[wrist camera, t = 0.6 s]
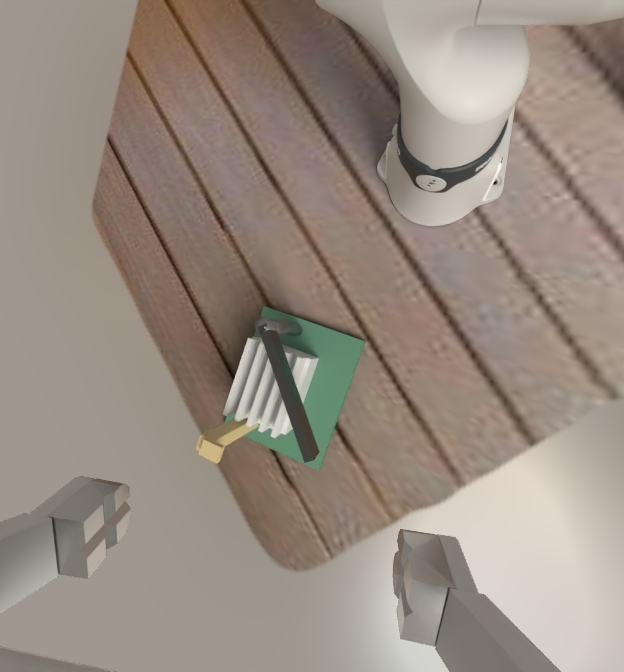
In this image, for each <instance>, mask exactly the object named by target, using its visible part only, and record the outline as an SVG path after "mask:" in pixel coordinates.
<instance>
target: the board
mask: <svg viewBox="0 0 624 672" xmlns="http://www.w3.org/2000/svg"><path fill="white" fill-rule="evenodd" d="M260 317H266V318H270V319H275V320H280V321H284V322H289V323H294V324H298V325H300V326H301V327H302V334H301V335H300V336H286V335H279V337H280V340H281V343H282V346H283V349H284V352H285V354H286V357H287V360H288V363H289V366H290V369H291V372H292V374H293V377H294V380H295V383H296V386H297V389H298V392H299V395H300V397H301V400H302V403H303V406H304V409H305V412H306V415H307V417H308V420H309V423H310V426H311V429H312V432H313V435H314V437H315V440H316V443H317V446H318V449H319V454H318V455H317V457H316V458H315V459H314V460H313V461H310V462H307V463H304V460H303V457H302V454H301V451H300V449H299V446H298V443H297V440H296V437H295V434H294V431H293V428H292V425H291V422H290V419H289V416H288V414H287V411H286V408H285V405H284V402H283V399H282V396H281V393H280V390H279V387H278V384H277V381H276V379H275V376H274V373H273V370H272V367H271V364H270V361H269V358H268V355H267V352H266V349H265V346H264V344H263V341H262V338H261V335H260V333H259V332H257V331H256V330H255V333H254V336H253V337H252V338H248V340H247V343H246V346H245V349H244V352H243V355H242V358H241V361H240V364H239V367H238V370H237V373H236V376H235V379H234V382H233V384H232V387H231V390H230V393H229V396H228V399H227V402H226V405H225V408H224V411H223V414H222V415H225V416H227V417H226V420H225V423H224V424H222V425H220V426H218V427H215V428H213V429H211V430H209V431H207V432H205V433H202V434H200V438H199V440H198V443H197V447H196V450H199V451H200V452H199V455H201V456H203V457H205V458H207V459H209V460H211V461H213V462H215V463H218V462H219V461H220V459H221V456H222V453H223V450H224V447H225V446H226V445H228V444H230V443H231V442H233V441H235V440H236V439H238V438H240V437H241V436H245V437H247V438H249V439H252V440H254V441H256V442H258V443H260V444H262V445H264V446H267V447H269V448H271V449H273V450H275V451H277V452H280V453H282V454H284V455H286V456H288V457H290V458H292V459H295V460H297V461H299V462H301V463H303V464H305V465H308V466H310V467H312V468H314V469H316V470H318V471H319V469H320V468H321V465H322V462H323V459H324V456H325V453H326V451H327V448H328V445H329V442H330V439H331V437H332V434H333V431H334V428H335V425H336V422H337V420H338V417H339V414H340V411H341V408H342V406H343V403H344V400H345V397H346V394H347V391H348V389H349V386H350V383H351V380H352V377H353V375H354V372H355V369H356V366H357V363H358V360H359V358H360V355H361V352H362V349H363V346H364V344H365V341H363V340H360V339H357V338H354V337H351V336H349V335H346V334H343V333H340V332H337V331H334V330H331V329H329V328H326V327H323V326H320V325H317V324H314V323H311V322H309V321H306V320H303V319H300V318H297V317H294V316H291V315H289V314H286V313H283V312H280V311H277V310H274V309H271V308H269V307H266V306H263V309H262V312H261V315H260Z"/></svg>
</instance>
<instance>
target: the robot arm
mask: <svg viewBox="0 0 624 672" xmlns="http://www.w3.org/2000/svg"><path fill="white" fill-rule="evenodd" d="M315 1H316V3H317V4H318V6H319V7H320V8H322V9H323V10H325V11H327V12H329V13H330V14H332V15H334V16H336V17H337V18H339V19H341V20H342V21H344V22H345V23H347V24H348V25H349V26H351V27H352V28H353V29H355V30H356V31H357V32H358V33H359V34H361V35H362V36H363V37H364V38H365V39H366V40H367V41H368V42H369V43H370V44H371V45H372V46H373V47H374V48H375V50H376V51H377V52H378V53H379V54H380V56H381V57H382V58H383V59H384V61H385V62H386V64H387V65H388V67H389V68H390V70H391V71H392V73H393V74H394V76H395V78H396V80H397V83H398V85H399V91H400V102H401V111H400V114H399V118H398V124H395V125H394V127H393V129H392V135H394V136H393V138H392V139H391V141H389V142H388V144H387V148H386V150H385V152H384V153H383V155H382V157H381V159H380V161H379V162H378V165H377V173H378V175H379V177H380V178H381V179H382V180H383V181H384V182H385V184H386V185H387V188H388V191H389V195H390V198H391V200H392V203H393V205H394V206H395V208H396V209H397V210H398V211H399V213H400V214H402V215H403V216H404V217H405V218H407V219H408V220H410V221H412V222H414V223H417V224H421V225H426V226H440V225H445V224H449V223H452V222H454V221H457V220H459V219H461V218H462V217H464V216H465V215H467V214H468V213H469V212H471V211H472V210H473V209H474V208H476V207H478V206H479V205H483V204H486V203H489V202H492V201H494V200H496V199H497V198H499V197H500V195H501V193H502V190H503V184H504V177H505V170H506V164H507V157H508V150H509V143H510V137H511V130H512V123H513V116H514V110H515V103H516V101H517V99H518V97H519V95H520V93H521V91H522V89H523V87H524V85H525V82H526V79H527V76H528V72H529V67H530V48H529V42H528V38H527V34H526V31H525V28H524V25H590V24H595V23H600V22H605V21H610V20H616V19H621V18H624V0H315ZM494 182H496V183H497V184H496V185H493V183H494ZM129 496H130V490H129V486H128V485H126V484H121V483H117V482H112V481H106V480H101V479H94V478H89V477H84V476H79V477H76V478H74V479H73V480H72V481H70V482H69V483H68V484H67V485H65V486H64V487H63V488H62V489H60V490H59V491H58V492H57V493H55V494H54V495H53V496H51V497H50V498H49V499H47V500H46V501H45V502H44V503H42V504H41V505H40V506H39V507H37V508H36V509H35V510H34V511H32V512H31V513H30V514H27V513H23V514H21V515H18V516H16V517H13V518H10V519H8V520H5V521H3V522H0V613H1V612H3V611H5V610H6V609H8V608H9V607H11V606H12V605H14V604H16V603H17V602H19V601H20V600H22V599H23V598H24V597H26V596H28V595H30V594H31V593H33V592H34V591H36V590H37V589H39V588H40V587H42V586H43V585H45V584H46V583H48V582H50V581H51V580H53V579H54V578H56V577H58V574H61V575H67V576H74V577H80V578H87V579H89V577H90V576H91V575H92V574H93V573H94V571H95V570H96V569H97V568H98V567H99V565H100V564H101V563H102V561H103V560H104V559H105V558H106V553H107V549H108V548H110V547H112V546H114V545H115V544H117V543H118V542H119V541H120V539H121V538H122V537H123V536H124V534H125V532H126V530H127V528H128V525H129V522H130V518H131V508H130V507H129V505H128V504H127V502H126V500H127V499H128V498H129ZM397 542H398V548H399V551H397V552H396V553H395V556H394V563H393V586H394V594H395V595H396V596H397V597H398V599H399V601H398V606H397V617H398V624H399V631H400V638H401V639H404V640H408V641H412V642H417V643H421V644H426V645H430V646H434V647H436V648H435V649H436V651H437V652H438V654H439V656H440V657H441V659H442V660H443V662H444V664H445V665H446V667H447V668H448V670H449V672H561V671H560V670H559V669H558V668H557V667H556V666H555V665H554V664H553V663H552V662H551V661H550V660H549V659H548V658H547V657H546V656H545V655H544V654H543V653H542V652H541V651H540V650H539V649H538V648H537V647H536V646H535V645H534V644H533V643H532V642H531V641H530V640H529V639H528V638H527V637H526V636H525V635H524V634H523V633H522V632H521V631H520V630H519V629H518V628H517V627H516V626H515V625H514V624H513V623H512V622H511V621H510V620H509V619H508V618H507V617H506V616H505V615H504V614H503V613H502V612H501V611H500V610H499V608H497V606H495V604H493V602H491V601H490V599H489V598H488V597H486V595H484V594H479V593H478V590H477V588H476V585H475V583H474V580H473V577H472V575H471V572H470V570H469V567H468V565H467V562H466V560H465V557H464V554H463V552H462V549H461V547H460V544H459V542H458V540H457V539H456V538H455V537H451V536H444V535H435V534H429V533H422V532H416V531H410V530H403V529H400V531H399V535H398V540H397ZM0 672H116V671H112V670H107V669H103V668H98V667H93V666H88V665H84V664H80V663H75V662H70V661H66V660H61V659H57V658H52V657H47V656H43V655H38V654H33V653H29V652H24V651H20V650H15V649H11V648H6V647H1V646H0Z"/></svg>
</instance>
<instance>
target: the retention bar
mask: <svg viewBox="0 0 624 672" xmlns="http://www.w3.org/2000/svg"><path fill="white" fill-rule="evenodd" d="M255 329H256V331H257V332H259V333H260V335H261V338H262V341H263V344H264V346H265V349H266V352H267V355H268V358H269V361H270V364H271V367H272V370H273V373H274V376H275V379H276V381H277V384H278V387H279V390H280V393H281V396H282V399H283V402H284V405H285V408H286V411H287V414H288V416H289V419H290V422H291V425H292V428H293V431H294V434H295V437H296V440H297V443H298V446H299V449H300V451H301V454H302V457H303V460H304V463H307V462H310V461H313V460H314V459H315V458H316V457H317V455H318V454H319V449H318V446H317V443H316V440H315V437H314V435H313V432H312V429H311V426H310V423H309V420H308V417H307V415H306V412H305V409H304V406H303V403H302V400H301V397H300V395H299V392H298V389H297V386H296V383H295V380H294V377H293V374H292V372H291V369H290V366H289V363H288V360H287V357H286V354H285V352H284V349H283V346H282V343H281V340H280V337H279V335H286V336H300V335H301V334H302V327H301V326H300V325H298V324H294V323H289V322H284V321H280V320H275V319H270V318H266V317H259V318H258V319H257V320H256V321H255Z"/></svg>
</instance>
